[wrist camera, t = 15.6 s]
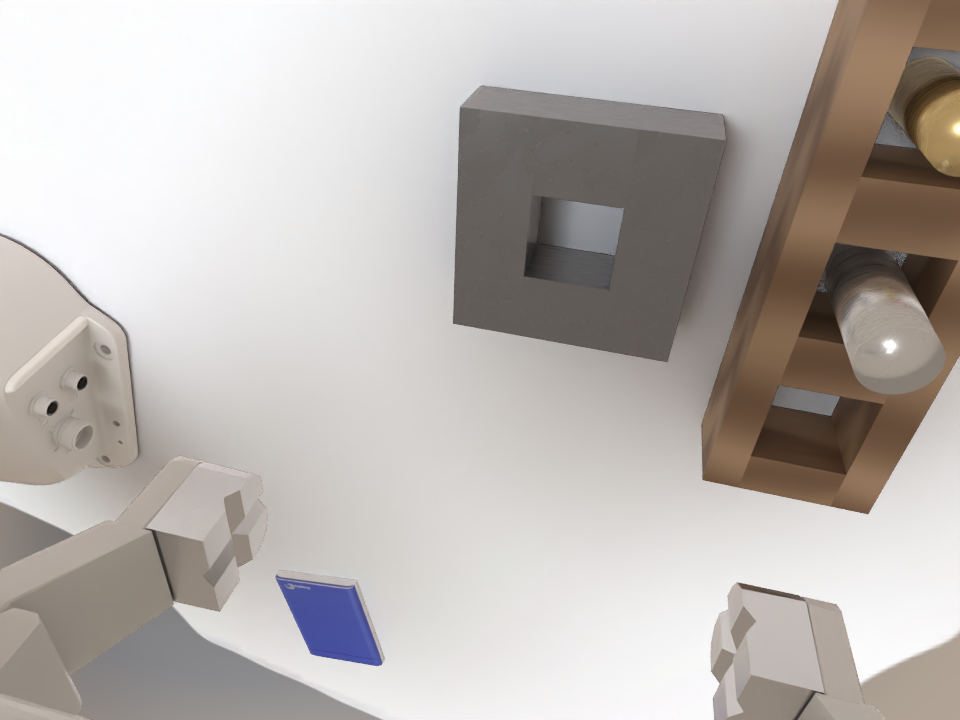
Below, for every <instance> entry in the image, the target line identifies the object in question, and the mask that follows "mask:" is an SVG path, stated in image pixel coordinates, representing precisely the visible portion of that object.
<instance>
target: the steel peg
mask: <svg viewBox="0 0 960 720" xmlns="http://www.w3.org/2000/svg"><path fill="white" fill-rule="evenodd" d="M822 278H823V281H824V284H825V287H826V290H827V293H828V296H829V299H830V302H831V305H832V308H833V311H834V314H835V317H836V320H837V323H838V326H839V329H840V332H841V335H842V338H843V341H844V344H845V347H846V350H847V353H848V356H849V359H850V362H851V365H852V368H853V371H854V374H855V377H856V378H857V380H858V381H859V382H860V383H861V384H862V385H863V386H864V387H866V388H867V389H869V390H871V391H874V392H877V393H881V394H891V395H895V394H904V393H909V392H912V391H915V390H918V389H920V388H922V387H924V386H926V385H927V384H929V383H930V382H932V381H933V380H934V379H935V378H936V377H937V376H938V375H939V373H940V372H941V370H942V368H943V366H944V363H945V350H944V347H943V345H942V344H941V342H940V340H939V338H938V336H937V334H936V332H935V331H934V329H933V327H932V325H931V323H930V321H929V319H928V318H927V316H926V314H925V312H924V310H923V308H922V306H921V305H920V303H919V301H918V299H917V297H916V295H915V293H914V292H913V290H912V288H911V286H910V284H909V282H908V280H907V279H906V277H905V275H904V273H903V271H902V269H901V267H900V266H899V264H898V262H897V260H896V258H895V256H894V254H893V253H892V251H889V250H882V249H875V248H868V247H861V246H854V245H848V244H841V243H835V244H834V247H833V250H832V252H831V255H830V257H829V260H828V262H827V265H826V267H825V270H824V272H823V275H822Z"/></svg>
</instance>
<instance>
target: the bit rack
mask: <svg viewBox="0 0 960 720" xmlns="http://www.w3.org/2000/svg"><path fill="white" fill-rule="evenodd" d="M912 47H921V48H932V49H942V50H952V51H960V0H839V2H838V5H837V8H836V11H835V14H834V17H833V20H832V23H831V26H830V29H829V33H828V36H827V39H826V42H825V45H824V48H823V51H822V54H821V57H820V60H819V63H818V67H817V70H816V73H815V76H814V79H813V82H812V85H811V88H810V91H809V94H808V97H807V100H806V104H805V107H804V110H803V113H802V116H801V119H800V122H799V125H798V128H797V131H796V134H795V138H794V141H793V144H792V147H791V150H790V153H789V156H788V159H787V162H786V165H785V168H784V171H783V175H782V178H781V181H780V184H779V187H778V190H777V193H776V196H775V199H774V202H773V205H772V209H771V212H770V215H769V218H768V221H767V224H766V227H765V230H764V233H763V236H762V239H761V242H760V246H759V249H758V252H757V255H756V258H755V261H754V264H753V267H752V270H751V273H750V276H749V280H748V283H747V286H746V289H745V292H744V295H743V298H742V301H741V304H740V307H739V310H738V313H737V317H736V320H735V323H734V326H733V329H732V332H731V335H730V338H729V341H728V344H727V347H726V351H725V354H724V357H723V360H722V363H721V366H720V369H719V372H718V375H717V378H716V381H715V384H714V388H713V391H712V394H711V397H710V400H709V403H708V406H707V409H706V412H705V415H704V418H703V422H702V425H701V427H702V469H703V480H705V481H710V482H715V483H720V484H724V485H729V486H734V487H739V488H744V489H749V490H753V491H758V492H763V493H768V494H773V495H778V496H782V497H787V498H792V499H797V500H802V501H807V502H812V503H816V504H821V505H826V506H831V507H836V508H841V509H845V510H850V511H855V512H860V513H865V514H868V513H869V512H870V510H871V508H872V507H873V505H874V503H875V501H876V500H877V498H878V496H879V494H880V493H881V491H882V489H883V487H884V486H885V484H886V482H887V481H888V479H889V477H890V475H891V474H892V472H893V470H894V468H895V467H896V465H897V463H898V461H899V460H900V458H901V456H902V455H903V453H904V451H905V449H906V448H907V446H908V444H909V442H910V441H911V439H912V437H913V436H914V434H915V432H916V430H917V429H918V427H919V425H920V423H921V422H922V420H923V418H924V416H925V415H926V413H927V411H928V410H929V408H930V406H931V404H932V403H933V401H934V399H935V397H936V396H937V394H938V392H939V391H940V389H941V387H942V385H943V384H944V382H945V380H946V378H947V377H948V375H949V373H950V371H951V370H952V368H953V366H954V365H955V363H956V361H957V359H958V358H959V356H960V177H954V176H949V175H946V174H943V173H941V172H939V171H938V170H936V169H935V168H934V167H933V166H932V164H931V163H930V162H929V161H928V160H927V158H926V157H925V156H924V155H923V154H922V152H921V151H920V150H919V149H914V148H906V147H897V146H889V145H881V144H874V143H875V141H876V138H877V136H878V133H879V131H880V128H881V126H882V123H883V121H884V118H885V116H886V113H887V111H888V108H889V105H890V103H891V100H892V98H893V95H894V93H895V90H896V88H897V85H898V83H899V80H900V78H901V75H902V73H903V70H904V68H905V65H906V63H907V60H908V57H909V55H910V52H911V50H912ZM835 243H841V244H848V245H854V246H861V247H868V248H875V249H882V250H889V251H896V252H903V253H908V255H907V257H906V259H905V261H904V263H903V265H902V267H901V269H902V271H903V273H904V275H905V277H906V279H907V280H908V282H909V284H910V286H911V288H912V290H913V292H914V293H915V295H916V297H917V299H918V301H919V303H920V305H921V306H922V308H923V310H924V312H925V314H926V316H927V318H928V319H929V321H930V323H931V325H932V327H933V329H934V331H935V332H936V334H937V336H938V338H939V340H940V342H941V344H942V345H943V347H944V350H945V363H944V366H943V368H942V370H941V372H940V373H939V375H938V376H937V377H936V378H935V379H934V380H933V381H932V382H930V383H929V384H927V385H926V386H924V387H922V388H920V389H918V390H915V391H912V392H909V393H904V394H895V395H891V394H881V393H877V392H874V391H871V390H869V389H867V388H866V387H864V386H863V385H862V384H861V383H860V382H859V381H858V380H857V378H856V377H855V374H854V371H853V368H852V365H851V362H850V359H849V356H848V353H847V350H846V347H845V344H844V341H843V338H842V335H841V332H840V329H839V326H838V323H837V320H836V317H835V314H834V311H833V308H832V305H831V302H830V299H829V296H828V293H822V292H816V290H817V287H818V285H819V282H820V280H821V277H822V275H823V272H824V270H825V267H826V265H827V262H828V260H829V257H830V255H831V252H832V250H833V247H834V244H835ZM779 385H781V386H786V387H792V388H797V389H803V390H808V391H814V392H819V393H825V394H830V395H836V396H841V397H840V399H839V401H838V403H837V406H836V408H835V410H834V412H833V414H832V416H831V417H830V416H825V415H820V414H814V413H809V412H803V411H798V410H793V409H787V408H782V407H777V406H771V404H772V401H773V399H774V396H775V394H776V391H777V389H778V386H779Z"/></svg>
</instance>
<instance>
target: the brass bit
mask: <svg viewBox="0 0 960 720" xmlns="http://www.w3.org/2000/svg"><path fill="white" fill-rule="evenodd" d="M888 113H889V114H890V115H891V116H892V118H893V119H894V120H895V121H896V122H897V124H898V125H899V126H900V127H901V128H902V130H903V131H904V132H905V133H906V134H907V136H908V137H909V138H910V139H911V140H912V142H913V143H914V144H915V145H916V146H917V148H918V149H919V150H920V151H921V152H922V154H923V155H924V156H925V157H926V158H927V160H928V161H929V162H930V163H931V164H932V166H933V167H934V168H935V169H936V170H938V171H939V172H941V173H943V174H946V175H949V176H954V177H960V70H958V69H957V68H955V67H954V66H953V65H951V64H950V63H949V62H947V61H946V60H944V59H941V58H938V57H922V58H918V59H915V60H913V61H910V62H909V63H907V64H906V65H905V68H904V70H903V73H902V75H901V78H900V80H899V83H898V85H897V88H896V90H895V93H894V95H893V98H892V100H891V103H890V105H889V108H888Z"/></svg>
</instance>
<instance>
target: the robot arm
mask: <svg viewBox="0 0 960 720" xmlns="http://www.w3.org/2000/svg"><path fill="white" fill-rule="evenodd" d="M137 457H138V444H137V435H136V426H135V416H134V407H133V398H132V389H131V379H130V370H129V361H128V351H127V342H126V336H125V334H124V332H123V330H122V329H121V328H120V327H119V326H118V325H117V324H116V323H115V322H114V321H112V320H111V319H110V318H108V317H107V316H106V315H104V314H103V313H101V312H100V311H98V310H97V309H95V308H94V307H92V306H91V305H89V304H88V303H87V302H86V301H85V300H84V299H83V298H82V297H81V296H80V295H79V294H78V293H77V292H76V291H75V289H74V288H73V287H72V286H71V285H70V284H69V283H68V282H67V281H66V280H65V279H64V278H63V277H62V276H61V275H60V274H59V273H58V272H57V271H56V270H55V269H53V268H52V267H51V266H50V265H49V264H47V263H46V262H45V261H44V260H42V259H41V258H40V257H38V256H37V255H35V254H34V253H32V252H31V251H29V250H28V249H26V248H24V247H23V246H21V245H19V244H17V243H15V242H13V241H11V240H9V239H6V238H4V237H1V236H0V481H4V482H12V483H19V484H27V485H50V484H55V483H59V482H62V481H64V480H66V479H68V478H70V477H72V476H74V475H75V474H77V473H78V472H80V471H81V470H82V469H84V468H85V467H86V466H90V467H99V468H114V467H121V466H125V465H127V464H130V463H131V462H132V461H134V460H135V459H136V458H137ZM262 491H263V486H262V481H261V477H260V476H258V475H255V474H251V473H247V472H243V471H239V470H235V469H231V468H227V467H223V466H219V465H216V464H212V463H208V462H203V461H199V460H195V459H190V458H186V457H182V456H177V457H175V458H174V459H172V460H170V461H169V462H168V463H167V464H166V465H165V466H164V467H163V468H162V470H161V471H160V472H159V473H158V474H157V475H156V476H155V477H154V479H153V480H152V481H151V482H150V483H149V484H148V485H147V487H146V488H145V489H144V490H143V491H142V492H141V493H140V494H139V496H138V497H137V498H136V499H135V500H134V501H133V502H132V503H131V505H130V506H129V507H128V508H127V509H126V510H125V511H124V512H123V514H122V515H121V516H120V517H119V518H118V519H117V520H116V521H115V522H114V521H109V520H107V521H105V522H102V523H100V524H98V525H96V526H94V527H91V528H89V529H87V530H85V531H83V532H81V533H78V534H76V535H74V536H72V537H70V538H68V539H65V540H63V541H61V542H59V543H57V544H55V545H52V546H50V547H48V548H46V549H44V550H42V551H39V552H37V553H35V554H33V555H31V556H29V557H26V558H24V559H22V560H20V561H18V562H15V563H13V564H11V565H9V566H7V567H5V568H2V569H0V720H91V719H88V718H84V717H81V716H77V713H78V711H79V710H80V709H81V707H82V705H81V698H80V696H79V694H78V692H77V690H76V688H75V686H74V684H73V682H72V680H71V678H70V675H71V674H73V673H74V672H76V671H77V670H79V669H80V668H81V667H83V666H84V665H86V664H87V663H89V662H90V661H92V660H93V659H95V658H96V657H98V656H99V655H100V654H102V653H103V652H105V651H106V650H108V649H109V648H110V647H112V646H114V645H115V644H116V643H118V642H119V641H121V640H122V639H124V638H125V637H127V636H128V635H129V634H131V633H132V632H134V631H135V630H137V629H138V628H139V627H141V626H143V625H144V624H145V623H147V622H148V621H150V620H151V619H153V618H154V617H156V616H157V615H159V614H160V613H162V612H163V611H165V610H166V609H167V608H169V607H170V606H172V605H173V604H174V602H173V601H175V602H179V603H184V604H188V605H193V606H197V607H201V608H206V609H210V610H215V611H219V612H220V611H221V609H222V607H223V606H224V604H225V603H226V601H227V599H228V598H229V596H230V595H231V593H232V592H233V590H234V588H235V587H236V585H237V584H238V582H239V580H240V578H239V571H238V567H240V566H242V565H243V564H245V563H247V562H249V561H250V560H252V559H253V558H254V556H255V555H256V553H257V551H258V550H259V548H260V546H261V544H262V541H263V538H264V535H265V532H266V527H267V511H266V507H265V506H264V505H263V504H262V502H261V501H260V500H259V499H258V497H259V496H260V494H261V493H262ZM728 607H729V609H728V610H726V611H723V612H721V613H720V614H719V616H718V619H717V621H716V624H715V626H714V631H713V636H712V641H711V672H712V673H713V675H714V676H715V677H716V679H717V680H718V682H719V683H720V685H719V687H718V689H717V691H716V693H715V695H714V697H713V708H714V720H886V719H885V718H884V717H883V716H882V715H881V713H880V712H879V711H878V710H877V709H876V708H875V707H872V706H868V705H865V702H864V698H863V694H862V690H861V687H860V683H859V679H858V675H857V671H856V667H855V663H854V659H853V655H852V651H851V647H850V643H849V639H848V635H847V632H846V628H845V624H844V620H843V616H842V612H841V610H840V609H839V607H838V606H837V604H832V603H828V602H823V601H819V600H814V599H810V598H805V597H800V596H799V595H794V594H790V593H785V592H780V591H775V590H771V589H766V588H761V587H757V586H752V585H747V584H743V583H738V582H737V583H736V584H734V585H733V586H732V588H731V590H730V592H729V594H728Z"/></svg>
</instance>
